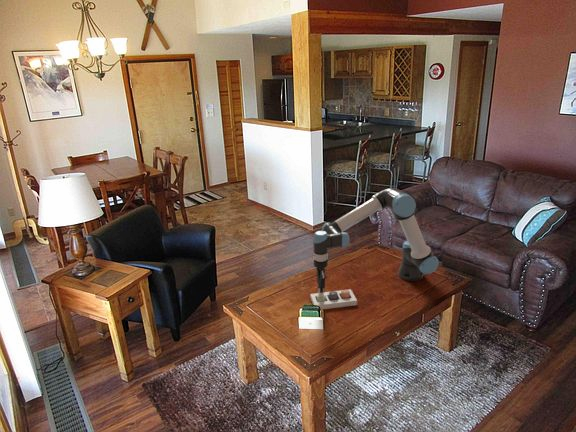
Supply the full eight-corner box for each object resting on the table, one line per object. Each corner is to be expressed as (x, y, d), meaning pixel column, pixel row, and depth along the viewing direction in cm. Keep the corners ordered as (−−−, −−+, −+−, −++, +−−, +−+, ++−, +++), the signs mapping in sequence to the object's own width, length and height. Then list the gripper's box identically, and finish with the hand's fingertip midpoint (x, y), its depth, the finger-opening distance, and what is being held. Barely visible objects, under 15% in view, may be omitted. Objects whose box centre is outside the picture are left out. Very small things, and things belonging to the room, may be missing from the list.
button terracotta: (348, 293, 231) (348, 289, 229) (350, 298, 226) (350, 293, 225) (340, 294, 230) (340, 290, 229) (342, 299, 225) (342, 294, 224)
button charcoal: (336, 295, 230) (336, 290, 229) (338, 299, 225) (338, 295, 224) (328, 296, 229) (328, 291, 228) (330, 300, 225) (330, 296, 223)
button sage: (324, 298, 229) (324, 294, 228) (326, 303, 225) (326, 298, 224) (316, 299, 229) (316, 295, 227) (318, 304, 224) (318, 299, 223)
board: (350, 293, 235) (350, 289, 234) (357, 305, 224) (357, 300, 223) (310, 298, 232) (310, 294, 231) (314, 310, 221) (314, 305, 220)
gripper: (311, 254, 223) (312, 291, 231) (316, 265, 211) (317, 303, 219) (324, 253, 224) (324, 289, 232) (330, 263, 212) (330, 302, 220)
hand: (321, 296), depth 225 cm, fingers closed
